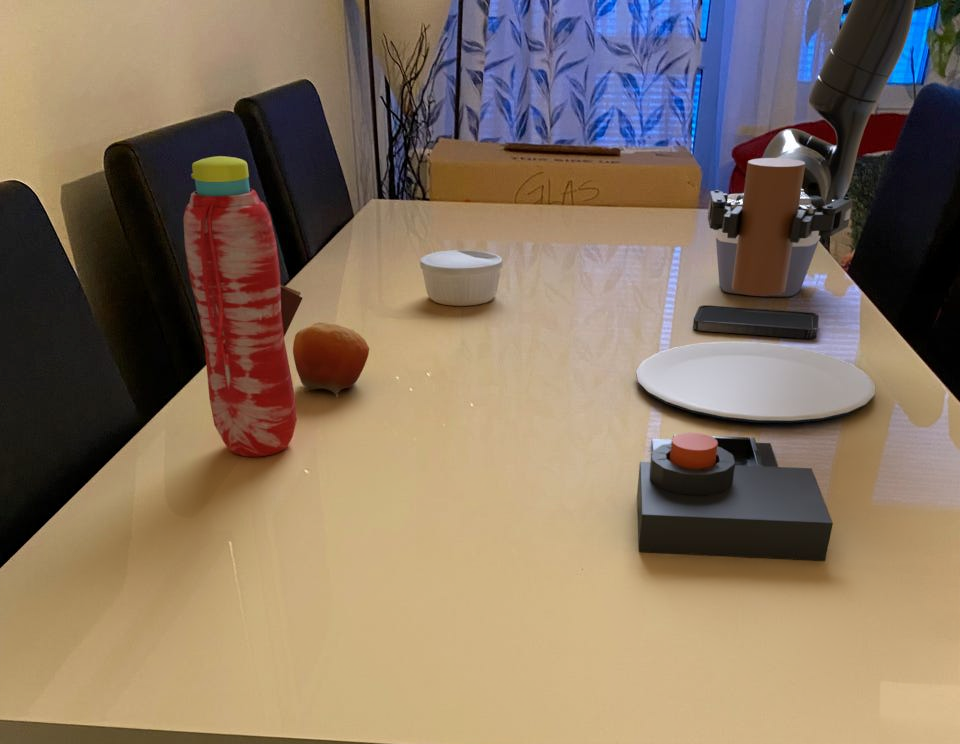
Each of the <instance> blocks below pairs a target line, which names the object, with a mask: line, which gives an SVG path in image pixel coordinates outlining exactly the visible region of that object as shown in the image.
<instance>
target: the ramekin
mask: <svg viewBox="0 0 960 744" xmlns="http://www.w3.org/2000/svg"><path fill="white" fill-rule="evenodd" d="M419 260H420V261H419V266H420V269H421V270H422V275H423V281H424V285H425V291H426V294H427V296H428V297H429V298H430V299H431V300H432V301H433V302H434V303H437V304H440V305H445V306H456V307H467V306H468V307H469V306H478V305H482V304H486V303H489V302H490V301H492V300H493V299H494V297H496V295H497V293H498V287H499V282H500V276H501V269H502V268H503V263H504V261H503V258H502V257H501V256H499V255H497V254H495V253H492V252H489V251H481V250H471V249H454V250H453V249H452V250H451V249H450V250H440V251H436V252H431V253H428V254H426V255H423V256H422V257H421V258H420V259H419Z"/></svg>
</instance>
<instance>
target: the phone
mask: <svg viewBox="0 0 960 744" xmlns="http://www.w3.org/2000/svg"><path fill="white" fill-rule="evenodd" d="M819 318H820V315H819V314H818V313H817V312H810V311H809V312H808V311H798V310H797V311H796V310H781V309H765V308H754V307H753V308H752V307H739V306H738V307H737V306H724V305H711V304H705V305H703V304H702V305H699V306H698V308H697V310H696V312H695V315H694V317H693V322H692V329H693V330H695V331H701V332H712V333H713V332H715V333H726V334H727V333H728V334H739V335H753V336H754V335H755V336H765V337H766V336H768V337H780V338H792V339H803V340H804V339H807V340H810V339H815V338H817V335H818V330H819V320H820V319H819Z"/></svg>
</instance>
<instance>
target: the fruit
mask: <svg viewBox="0 0 960 744" xmlns="http://www.w3.org/2000/svg"><path fill="white" fill-rule="evenodd" d="M292 354H293V360H294V365H295V369H296V372H297V375H298V378H299V379H300V380H299V381H300V382H301V384H302V386H303V387H304V390H305V393H307V392H309V391H312V390H317V389H321V390H322V389H324V390H327V391H330V392H332V393H334V394H335V398H336V399H339V392H340V391H341V390H343V389H344V390H345V389H347V388H353V386H354V385H355V384H356V383H357V381H358V380H359V378H360V376H361V375H362V371H363V370H364V368H365V365H366V363H367V361H368V357H369V354H370V347H369V345H368V343H367V341H366V339H365V338H364V337H363V336H362V335H361V334H359V333H358V332H357V331H355V330H354V329H352V328H348V327H345V326H342V325H339V324H335V323H328V322H315V323H313V324H311V325H310V326H307V327H305V328H302V329H300V330H298V331H297V332H296V333H295V335H294V340H293V346H292Z"/></svg>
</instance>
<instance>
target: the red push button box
mask: <svg viewBox="0 0 960 744" xmlns="http://www.w3.org/2000/svg"><path fill="white" fill-rule="evenodd" d="M670 452H671V443H670V444H665V445H661V446H660V447H658V448H657V449H655V450H654V451H652V450H651V453H650V461H639V466H638V467H639V468H638V477H637V479H638V481H637V492H636V507H637V508H636V510H637V513H636V514H637V540H638V541H637V543H638V544H637V545H638V546H637V547H638V552H639V553H655V554H657V553H659V554H675V555H678V554H680V555H696V556H698V555H699V556H719V557H739V558H757V559H758V558H759V559H760V558H761V559H778V560H779V559H781V560H782V559H783V560H801V561H821V562H823V561H826V558H827V554H828V548H829V544H830V540H831V534H832V530H833V526H834V522H833V519H832V518H831V515H830V512H829V510H828V507H827V503H826V502H825V499H824V497H823V494H822V491H821V489H820V487H819V484H818V482H817V479H816V475H815V474H814V472H813V471H814V470H813V468H812V467H792V466H791V467H788V466H778V467H766V466H740V465H735V460H734V456H733V454H731V453H729V452H728V451H726V450H724V449H723V448H721V447H717V455H716V463H715V465H714V466H712V467H707V468H702V469H700V468H686V467H682V466H678V465H675V464H673V463H672V462H670Z"/></svg>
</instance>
